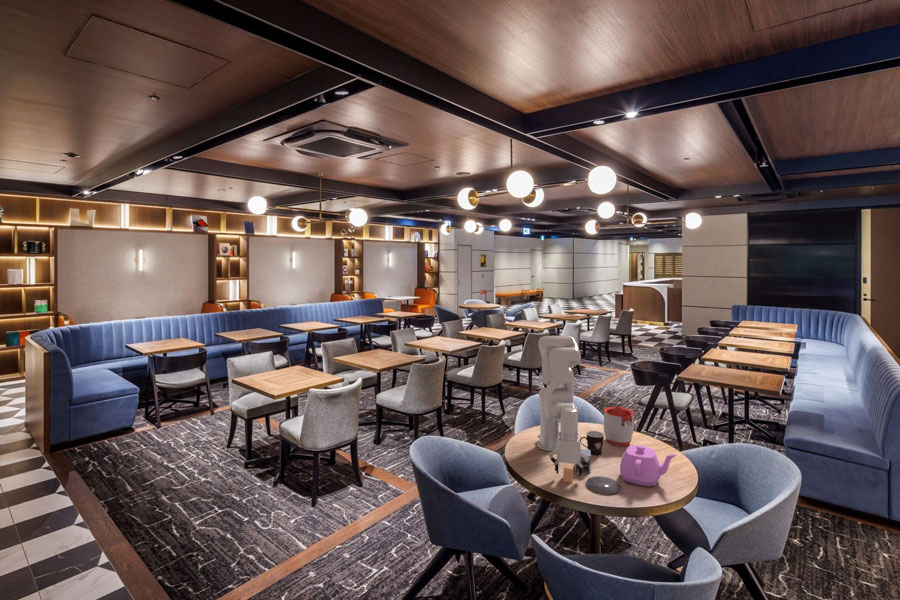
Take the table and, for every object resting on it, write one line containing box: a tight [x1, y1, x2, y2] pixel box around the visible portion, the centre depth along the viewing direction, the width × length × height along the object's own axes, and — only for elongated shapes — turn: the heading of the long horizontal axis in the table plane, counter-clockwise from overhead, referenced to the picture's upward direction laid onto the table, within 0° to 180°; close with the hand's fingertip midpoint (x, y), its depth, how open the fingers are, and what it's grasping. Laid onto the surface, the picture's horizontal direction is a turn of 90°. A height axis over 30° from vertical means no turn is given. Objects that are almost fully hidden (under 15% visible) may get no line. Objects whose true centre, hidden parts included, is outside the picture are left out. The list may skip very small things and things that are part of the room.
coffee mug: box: [579, 430, 605, 457], centre depth 227 cm, size 12×9×10 cm
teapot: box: [619, 444, 678, 487], centre depth 196 cm, size 23×21×15 cm
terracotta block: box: [562, 463, 574, 483], centre depth 199 cm, size 4×4×6 cm
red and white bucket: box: [602, 405, 635, 447], centre depth 239 cm, size 16×17×20 cm
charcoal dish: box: [585, 475, 622, 496], centre depth 193 cm, size 14×14×1 cm
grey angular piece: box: [574, 448, 592, 473], centre depth 210 cm, size 7×7×8 cm
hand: (568, 473), depth 199 cm, fingers open, 9 cm apart
